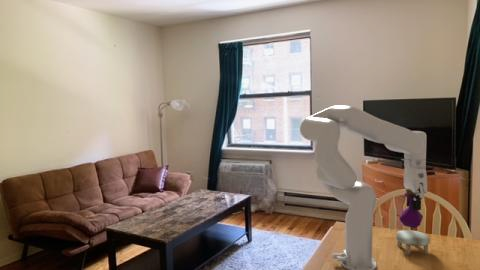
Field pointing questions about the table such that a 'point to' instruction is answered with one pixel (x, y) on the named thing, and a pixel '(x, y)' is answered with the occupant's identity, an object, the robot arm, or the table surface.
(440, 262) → the table surface
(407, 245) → the stool
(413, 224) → the perfume bottle
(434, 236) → the table surface
